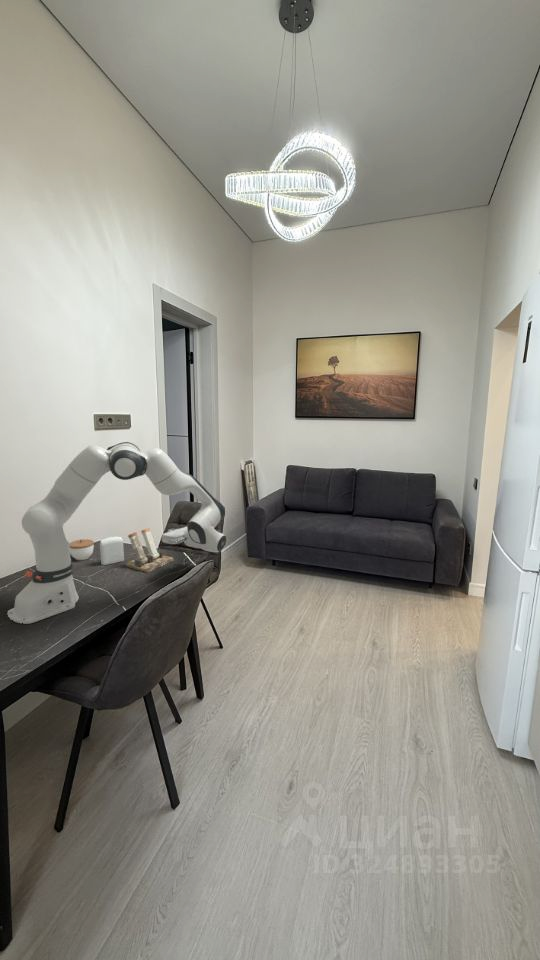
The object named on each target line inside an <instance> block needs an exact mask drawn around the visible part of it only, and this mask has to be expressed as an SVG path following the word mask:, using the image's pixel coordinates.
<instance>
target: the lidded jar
mask: <svg viewBox="0 0 540 960" xmlns="http://www.w3.org/2000/svg"><path fill="white" fill-rule="evenodd" d="M94 543H95V542H94V540H92V539H85V538H84V539H82V538H81V539H77V540H73V541H71V542H69V544H70V556H71V557H72V558H74V560H75V561H85V560H88V559H89V558H90V557H91V556H92V555H93V553H94V548H95V545H94Z"/></svg>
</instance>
